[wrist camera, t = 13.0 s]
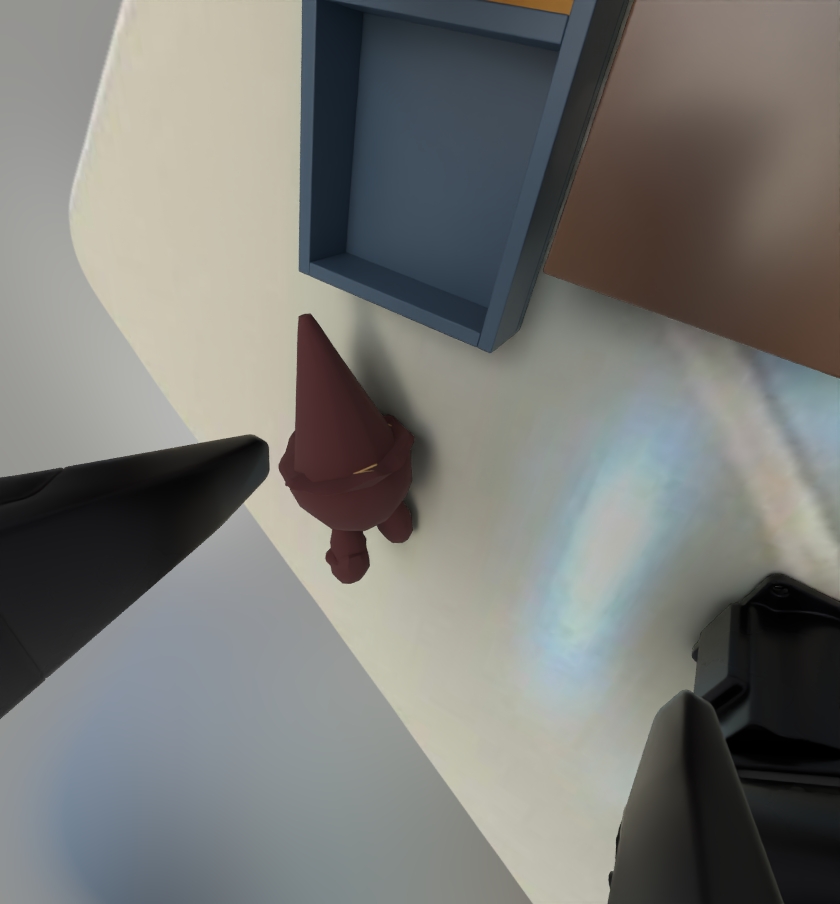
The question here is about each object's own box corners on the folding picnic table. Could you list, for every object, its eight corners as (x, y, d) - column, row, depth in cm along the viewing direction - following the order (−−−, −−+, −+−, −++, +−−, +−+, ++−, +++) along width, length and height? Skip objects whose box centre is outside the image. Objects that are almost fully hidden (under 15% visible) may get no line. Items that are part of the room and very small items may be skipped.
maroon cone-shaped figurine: (192, 332, 21) (298, 566, 29) (277, 360, 16) (375, 631, 24) (319, 284, 25) (381, 504, 33) (419, 295, 20) (462, 550, 28)
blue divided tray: (831, -612, 8) (857, -866, 6) (519, 330, 20) (490, 353, 18) (394, -517, 11) (310, -671, 9) (341, 258, 23) (298, 271, 21)
